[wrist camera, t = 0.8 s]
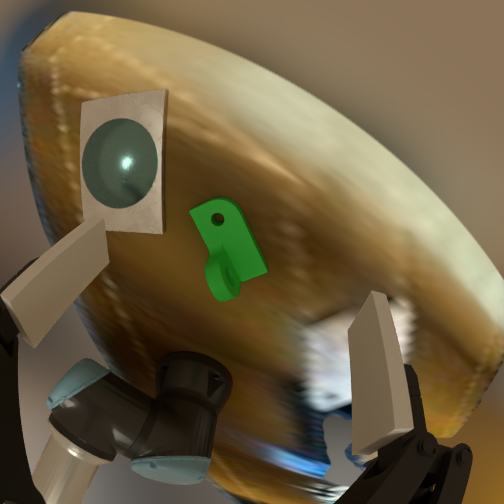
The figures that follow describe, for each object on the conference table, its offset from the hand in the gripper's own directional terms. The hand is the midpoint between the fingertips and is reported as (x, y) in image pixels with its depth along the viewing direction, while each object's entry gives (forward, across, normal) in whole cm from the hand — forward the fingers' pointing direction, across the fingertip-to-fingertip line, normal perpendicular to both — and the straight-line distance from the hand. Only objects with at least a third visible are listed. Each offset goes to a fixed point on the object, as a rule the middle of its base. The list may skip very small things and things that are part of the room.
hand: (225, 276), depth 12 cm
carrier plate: (+22, +22, +4) cm, 31 cm away
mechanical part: (+23, +4, +12) cm, 26 cm away
